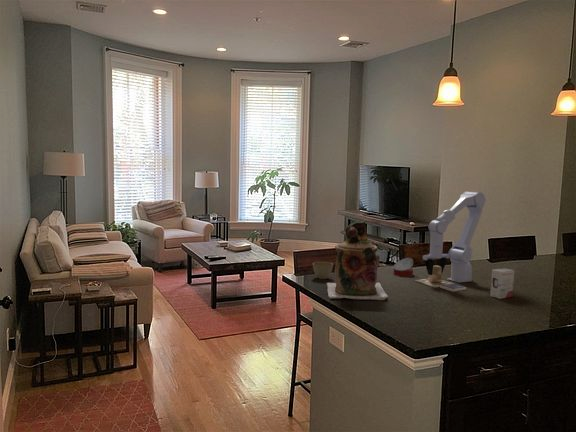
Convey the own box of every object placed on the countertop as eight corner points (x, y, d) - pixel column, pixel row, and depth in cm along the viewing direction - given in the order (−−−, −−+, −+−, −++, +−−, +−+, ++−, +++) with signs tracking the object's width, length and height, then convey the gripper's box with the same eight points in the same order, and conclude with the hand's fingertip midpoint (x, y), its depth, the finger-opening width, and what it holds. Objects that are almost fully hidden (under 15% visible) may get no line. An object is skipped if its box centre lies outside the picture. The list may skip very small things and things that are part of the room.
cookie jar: (325, 285, 227) (327, 216, 224) (379, 287, 226) (382, 217, 223) (328, 300, 202) (330, 222, 199) (389, 301, 202) (392, 223, 199)
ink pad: (452, 285, 231) (452, 283, 231) (465, 289, 224) (466, 286, 224) (439, 287, 227) (439, 284, 227) (452, 291, 220) (453, 288, 220)
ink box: (503, 294, 217) (505, 267, 216) (513, 297, 213) (515, 270, 212) (489, 296, 213) (490, 269, 212) (498, 299, 209) (500, 271, 208)
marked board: (435, 279, 245) (435, 277, 245) (454, 284, 233) (455, 283, 233) (414, 281, 239) (414, 280, 239) (434, 287, 227) (434, 286, 227)
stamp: (437, 279, 238) (438, 265, 238) (441, 282, 233) (442, 267, 233) (427, 279, 238) (428, 265, 237) (431, 282, 233) (432, 267, 233)
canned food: (412, 284, 252) (417, 269, 247) (392, 282, 252) (397, 267, 247) (409, 270, 262) (414, 255, 256) (390, 268, 262) (394, 253, 256)
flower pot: (332, 276, 247) (333, 262, 246) (332, 280, 237) (333, 266, 236) (312, 275, 248) (313, 261, 247) (311, 279, 238) (312, 265, 237)
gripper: (441, 243, 241) (440, 271, 242) (418, 245, 234) (417, 273, 236) (452, 245, 235) (451, 274, 236) (429, 247, 228) (427, 276, 229)
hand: (435, 274), depth 236 cm, fingers closed on stamp, 6 cm apart
